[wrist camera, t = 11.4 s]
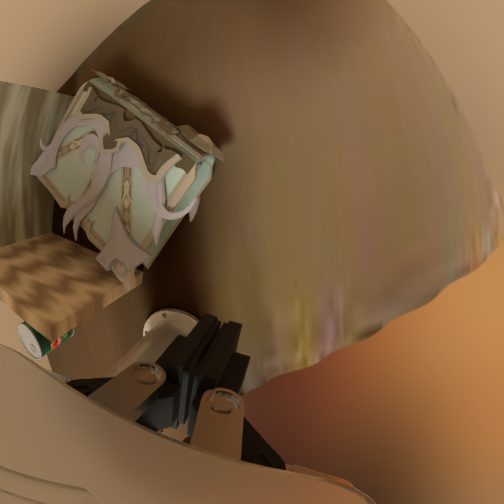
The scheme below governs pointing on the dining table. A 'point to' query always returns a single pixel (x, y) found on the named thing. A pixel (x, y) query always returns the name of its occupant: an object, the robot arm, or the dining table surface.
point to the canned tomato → (38, 340)
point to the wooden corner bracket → (42, 225)
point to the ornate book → (124, 174)
